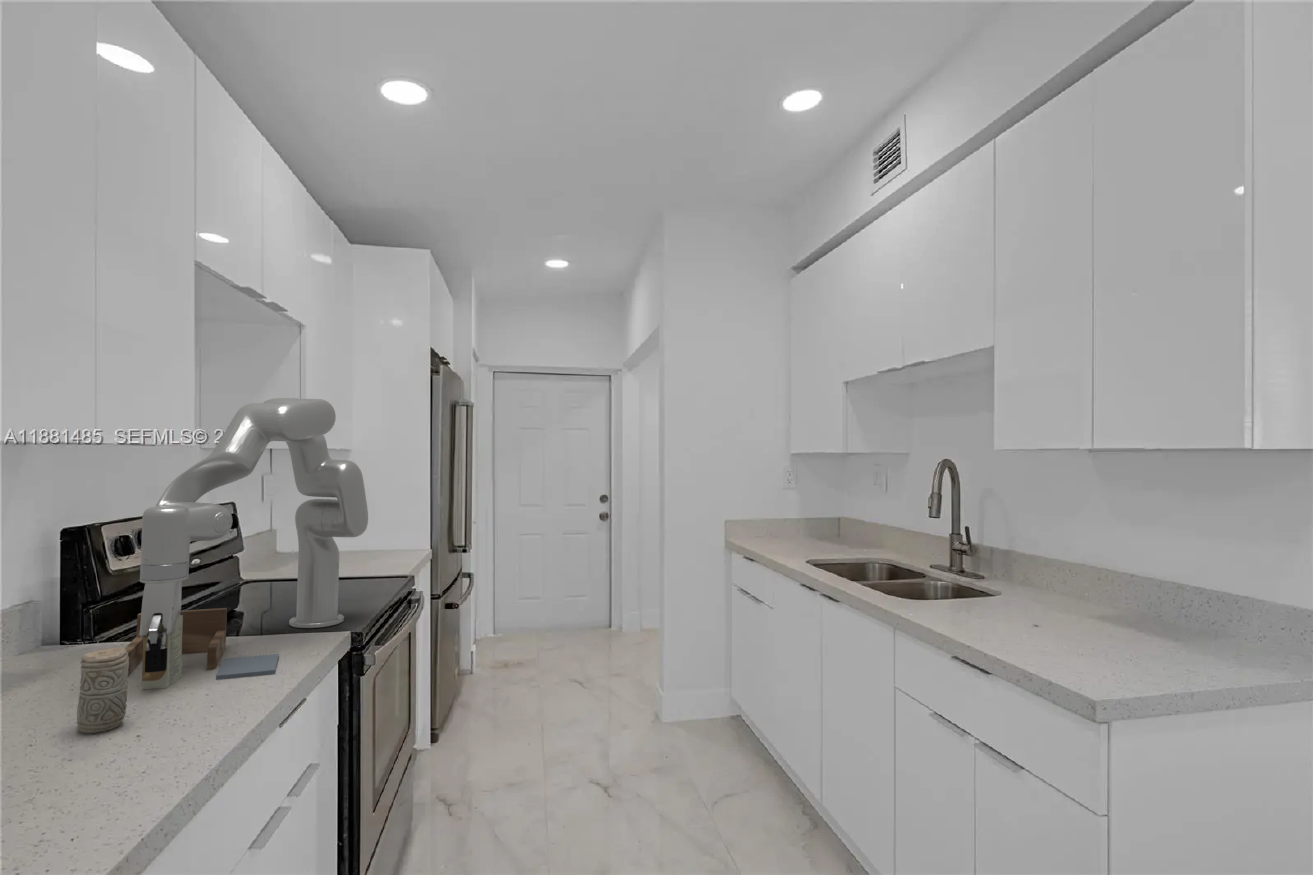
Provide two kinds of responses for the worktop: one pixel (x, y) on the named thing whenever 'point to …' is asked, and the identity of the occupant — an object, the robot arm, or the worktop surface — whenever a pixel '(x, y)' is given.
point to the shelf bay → (191, 636)
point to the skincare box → (173, 660)
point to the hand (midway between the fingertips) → (161, 663)
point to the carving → (103, 690)
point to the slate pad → (247, 666)
